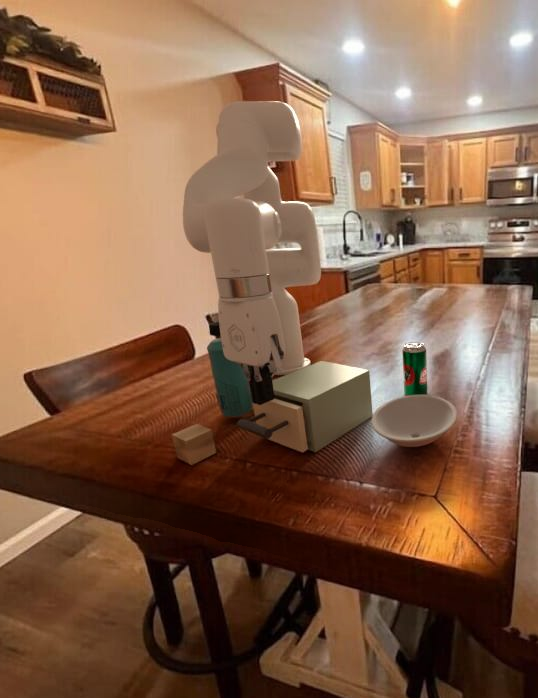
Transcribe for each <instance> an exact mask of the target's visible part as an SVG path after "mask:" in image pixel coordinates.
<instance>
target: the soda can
mask: <svg viewBox="0 0 538 698" xmlns="http://www.w3.org/2000/svg"><path fill="white" fill-rule="evenodd" d="M401 351H402V370H403V393H404V394H403V395H404V396H409V395H428V363H427V361H428V360H427V348H426V346H425V343H423V342H419V341H411V342H406V343H404V344H403V348H402V350H401Z"/></svg>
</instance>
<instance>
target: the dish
mask: <svg viewBox="0 0 538 698" xmlns="http://www.w3.org/2000/svg"><path fill="white" fill-rule="evenodd" d="M372 414H373V416H372V417H371V425H372V426H371V427H372V428H373V430H374V431H375V433H377V434H378V435H379V436H381V437H382V438H385V439H386V440H387V441H390V442H391V443H393V444H395V445H398V446H400V447H405V448H417V447H423V446H426V445H429V444H431V443H433V442H435V441H437V440H438V439H439V438H441V437H442V436H443V435H444V434H445V433H446V432H448V431H449V430H450V429H451V428H453V426H454V425H455V424H456V421H457V418H458V411H457V409H456V407H455V405H454V404H452V402H451V401H449V400H447V399H445V398H443V397H440V396H436V395H431V394H427V395H409V396H405V395H404V396H400V397H397V398H394V399H391V400H389V401H387V402H384V403H383V404H382V405H380V406H379V407H378V408H377V409H376V410H375V411H374V413H372Z"/></svg>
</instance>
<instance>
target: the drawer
mask: <svg viewBox="0 0 538 698" xmlns="http://www.w3.org/2000/svg"><path fill="white" fill-rule="evenodd" d="M274 396H275V398H274V399H273V400H271V401H269V402H267V403H264V404H262V405H258V404H254V403H253V402H252V403H253V412H254V416H252V417H250V418H248V419H245V418H240V419H238V421H237V424H236V426H237V428H238V429H240V430H243V431H246V432H248V433H251V434H253V435H256V436H258V437H261V438H264V439H266V440H268V441H271V442H274V443H276V444H279V445H281V446H284V447H287V448H290V449H292V450H295V451H297V452H300V453H304V452H306V451H307V450H308V447H307V441H308V442H311V441H310V433H309V426H308V418H307V410H306V404H305V403H302V402H298V401H295V400H291V399H288V398H285V397H281V396H278V395H274ZM308 451H309V450H308Z"/></svg>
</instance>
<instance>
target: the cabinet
mask: <svg viewBox="0 0 538 698" xmlns="http://www.w3.org/2000/svg"><path fill="white" fill-rule="evenodd" d="M272 383H273V389H274V395H278V396H281V397H285V398H288V399H291V400H295V401H298V402H302V403H305V404H306V410H307V418H308V426H309V433H310V441H311V442H308V441H307V447H308V451H311V452H313V453H317V452H318V451H320V450H322V449H323V448H325V447H327V446H328V445H329V444H331V443H333V442H335V441H336V440H337V439H339V438H340V437H342V436H344V435H346V434H347V433H349V432H351V430H353V429H355V428H356V427H358V426H359V425H361V424H363V423H364V422H366V421H367V420H369V419H370V418H372V417H373V414H374V413H373V403H372V402H373V401H372V390H371V389H372V388H371V376H370V369H364V368H362V367H361V368H360V367H355V366H350V365H346V364H341V363H335V362H329V361H326V360H325V361H324V360H320V361H317V362H316V363H312V364H311V365H310V366H307V367H305V368H302V369H300V370H297V371H295V372H292V373H290V374H287V375H281V376H280V377H277V378H275V379H272Z"/></svg>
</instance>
